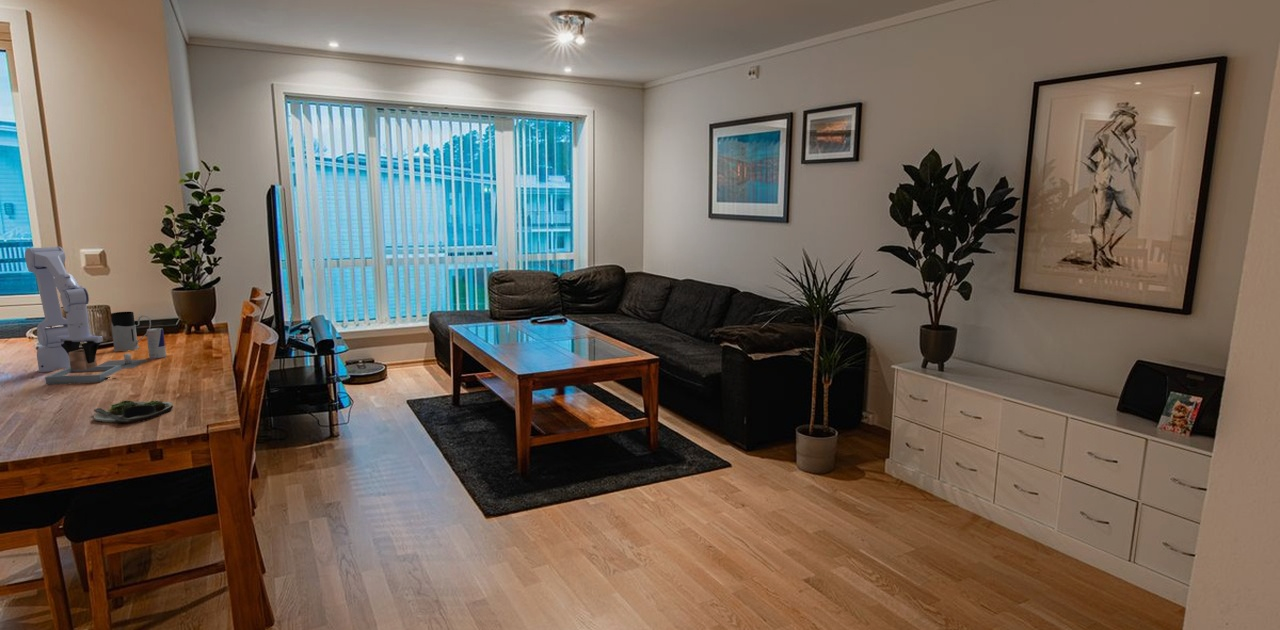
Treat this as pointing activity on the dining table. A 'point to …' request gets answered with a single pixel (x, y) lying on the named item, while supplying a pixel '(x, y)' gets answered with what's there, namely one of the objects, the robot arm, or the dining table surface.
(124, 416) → the salad plate
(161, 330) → the energy drink
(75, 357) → the tan block
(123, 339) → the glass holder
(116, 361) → the stake board
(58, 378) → the grey square frame
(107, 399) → the dining table surface
